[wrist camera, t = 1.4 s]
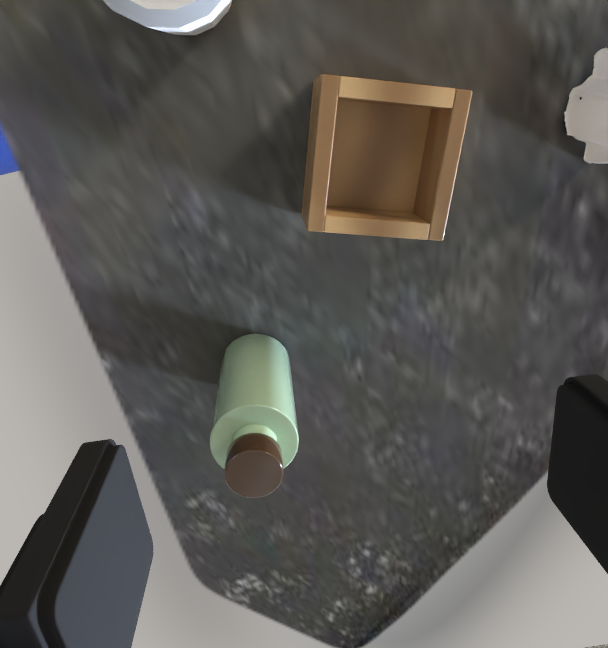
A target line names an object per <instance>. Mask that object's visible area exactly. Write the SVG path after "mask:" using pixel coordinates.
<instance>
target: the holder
mask: <svg viewBox="0 0 608 648" xmlns="http://www.w3.org/2000/svg"><path fill="white" fill-rule="evenodd" d="M471 97H472V91H471V90H463V89H455V88H445V87H436V86H427V85H418V84H409V83H400V82H391V81H382V80H372V79H363V78H354V77H345V76H336V75H326V74H322V75H321V76H319V77H318V78H316V79H315V80H314V82H313V93H312V104H311V115H310V126H309V138H308V149H307V160H306V171H305V182H304V193H303V205H302V219H303V221H304V223H305V226H306V228H307V231H316V232H323V231H324V232H329V233H342V234H356V235H369V236H382V237H396V238H409V239H422V240H427V239H428V240H437V241H442V240H443V238H444V233H445V228H446V223H447V218H448V213H449V207H450V202H451V197H452V192H453V187H454V182H455V177H456V172H457V167H458V162H459V157H460V152H461V147H462V142H463V137H464V132H465V127H466V122H467V117H468V112H469V107H470V102H471Z"/></svg>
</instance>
